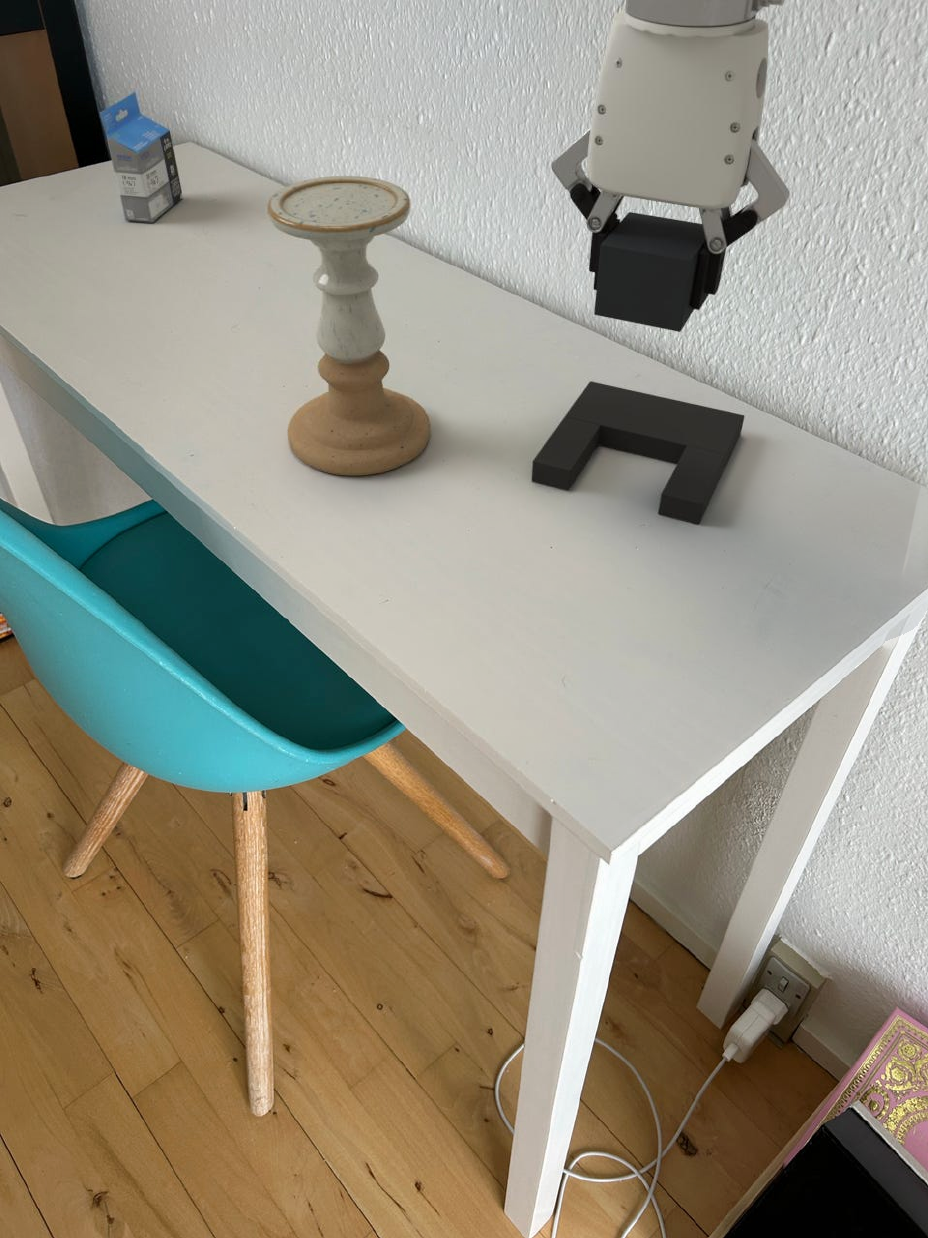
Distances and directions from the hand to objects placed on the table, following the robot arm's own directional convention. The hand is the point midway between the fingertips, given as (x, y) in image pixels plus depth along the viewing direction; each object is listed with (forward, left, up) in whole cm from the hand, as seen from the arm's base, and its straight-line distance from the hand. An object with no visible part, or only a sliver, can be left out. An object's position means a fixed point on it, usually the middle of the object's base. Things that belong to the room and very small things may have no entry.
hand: (651, 289), depth 68 cm
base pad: (0, -4, -17) cm, 17 cm away
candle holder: (+23, +3, -17) cm, 29 cm away
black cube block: (0, 0, -1) cm, 1 cm away
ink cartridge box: (+72, -32, -17) cm, 81 cm away
